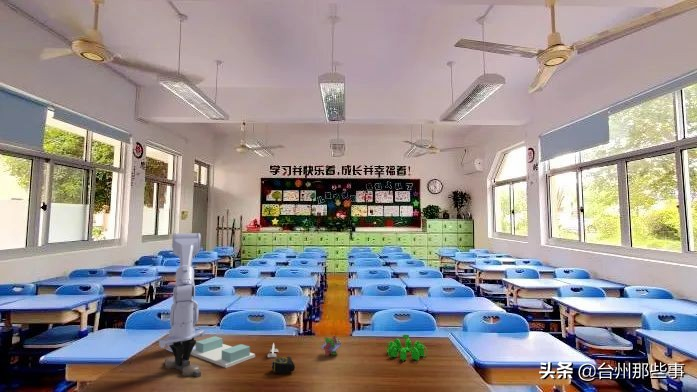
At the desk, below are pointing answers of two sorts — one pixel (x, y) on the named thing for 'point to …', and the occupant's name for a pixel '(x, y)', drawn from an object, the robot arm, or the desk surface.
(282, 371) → the tape measure
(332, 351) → the geometric puzzle
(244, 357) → the stand
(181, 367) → the rod with two spheres
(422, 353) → the green lumpy cluster
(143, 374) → the desk surface
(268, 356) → the white tapered piece
